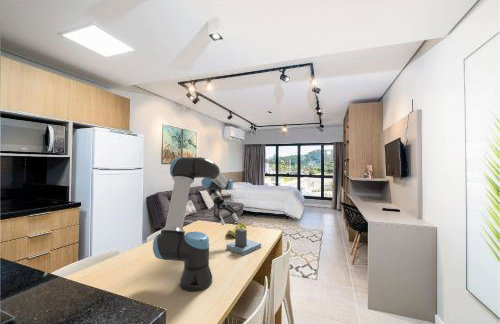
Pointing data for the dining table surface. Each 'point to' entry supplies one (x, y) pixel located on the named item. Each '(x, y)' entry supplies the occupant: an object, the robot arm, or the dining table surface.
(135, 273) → the dining table surface
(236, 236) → the servo block
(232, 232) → the plastic component
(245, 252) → the plate
